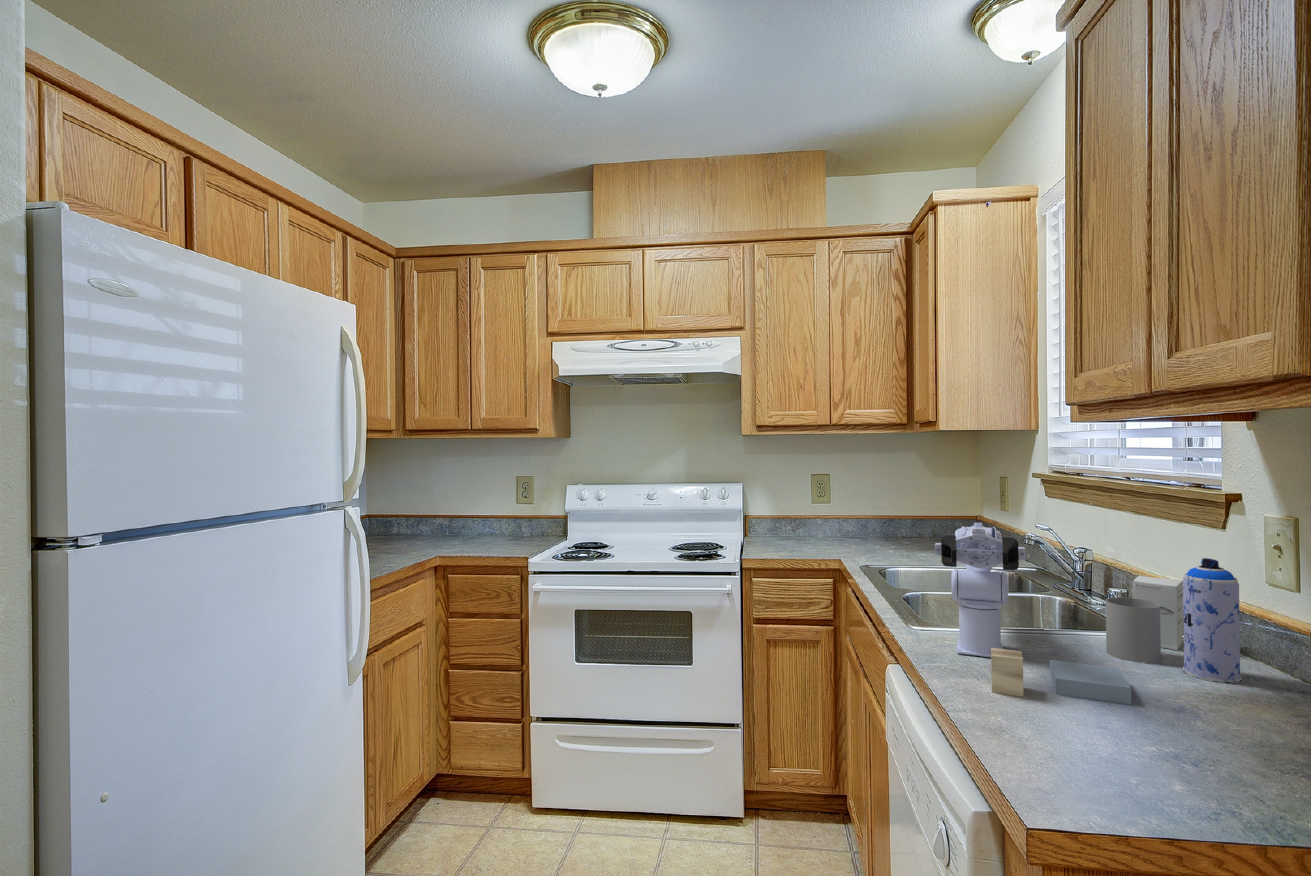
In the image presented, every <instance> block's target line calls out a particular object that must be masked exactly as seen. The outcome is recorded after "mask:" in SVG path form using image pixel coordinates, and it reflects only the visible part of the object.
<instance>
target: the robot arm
mask: <svg viewBox="0 0 1311 876" xmlns="http://www.w3.org/2000/svg"><path fill="white" fill-rule="evenodd" d="M1002 535H1003V534H1002V532H1000V530H997V529H996V527H995V526H993V527H986V526H984V525H983V522H974V523H973V525H972V526H963V525H962V526H961V527H960V528H957V529H956V530H955V531H954V535H951V534H948V535H947V534H946V535H943V536H942V537H941V539H940V542H936V543H935V544H934V555H935V556H939V557H940V556H941V564H942V565H943V566H944V567H951V568H954V569H953V570H952V571H951V575H950V576H951V578H950V579H951V584H950V585H951V599H952V600H954V602H958V614H959V615H958V620H959V621H958V622H959V623H958V629H959V630H958V632H959V637H958V638H957V645H956V653H957V654H959V655H960V654H961V655H967V656H968V655H969V656H978V657H986V658H991V648H997V649H1004V647H1003V643H1002V639H1001V638H1002V637H1001V636H1002V635H1001V633H1002V631H1001V626H1002V625H1001V609H1002V606H1005V605H1006V604H1007V603H1008V602H1009V583H1008V581H1009V578H1008V575H1007V574H1006V572H1005V571H1017V570H1018V569H1019V567H1020V561H1027V557H1026V556H1027V555H1026V554H1027V553H1026V548H1025V547H1024V546H1019V541H1018V540H1017V539H1016V538H1014V537H1003V536H1002ZM957 563H959V564H961V565H963V566H964V567H965V569H958V568H957V565H958V564H957ZM1001 564H1002V570H1003V571H1001V572H998V571H992V569H993V568H994V567H997V566H999V565H1001Z"/></svg>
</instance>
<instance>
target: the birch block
mask: <svg viewBox="0 0 1311 876" xmlns="http://www.w3.org/2000/svg"><path fill="white" fill-rule="evenodd" d="M990 666H991V668H990V670H991V671H990V674H991V676H990V677H991V679H990V681H991V693H995V694H1003V695H1009V696H1016V697H1022V698H1023V697H1024V657H1023V652H1022V651H1021V650H1013V649H1005V648H1003V649H997V648H991V657H990Z"/></svg>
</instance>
